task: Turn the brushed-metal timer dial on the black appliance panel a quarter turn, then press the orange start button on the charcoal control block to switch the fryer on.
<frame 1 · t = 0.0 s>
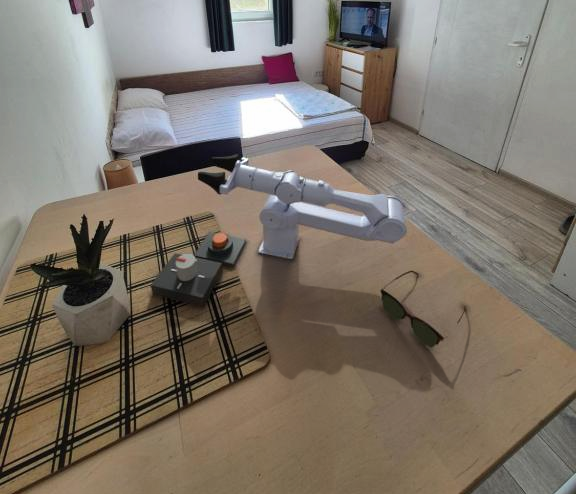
hand: (205, 168, 85), 22 cm above the table, tool horizontal, fingers open, 7 cm apart
button block: (220, 250, 87), on the table
timer dial: (186, 266, 76), point 5 cm above the table, hinge at 0.0°
dial panel: (189, 282, 78), on the table
sunglasses: (423, 308, 72), on the table
start button: (219, 240, 86), point 3 cm above the table, slide at 0.1 cm
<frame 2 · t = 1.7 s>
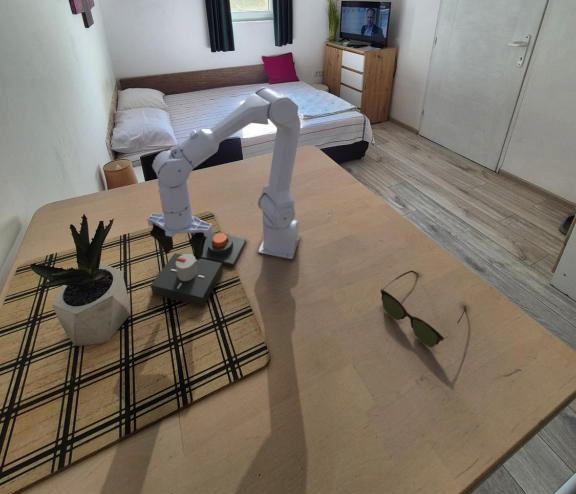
hand: (184, 253, 74), 9 cm above the table, tool pointing down, fingers open, 7 cm apart
nothing on the table moved.
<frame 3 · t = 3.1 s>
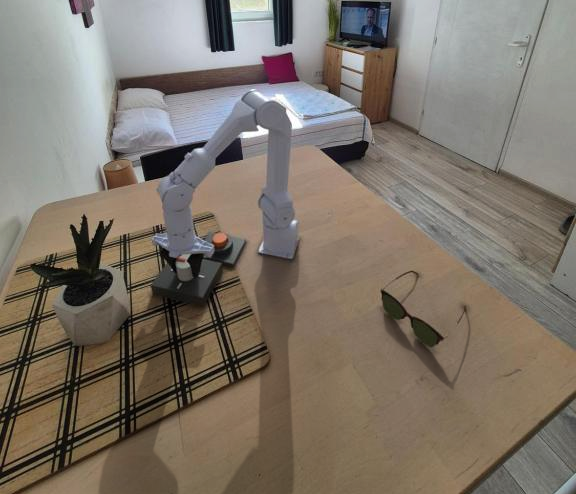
hand: (187, 272, 76), 4 cm above the table, tool pointing down, fingers closed on timer dial, 4 cm apart
timer dial: (186, 266, 76), point 5 cm above the table, hinge at 0.1°, touching gripper
everything else where it was.
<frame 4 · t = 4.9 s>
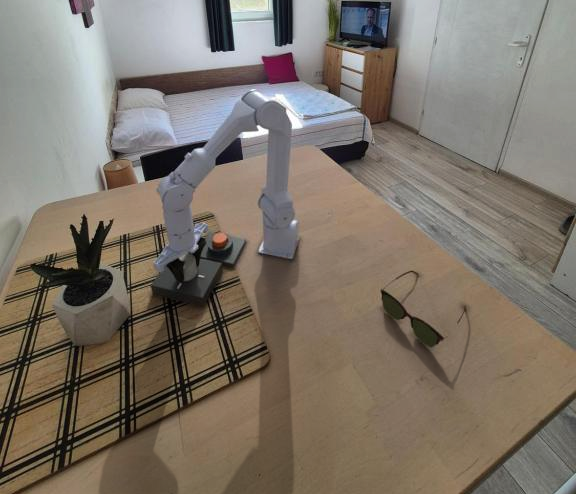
hand: (187, 272, 76), 4 cm above the table, tool pointing down, fingers closed on timer dial, 4 cm apart
timer dial: (186, 266, 76), point 5 cm above the table, hinge at 74.6°, touching gripper
everything else where it was.
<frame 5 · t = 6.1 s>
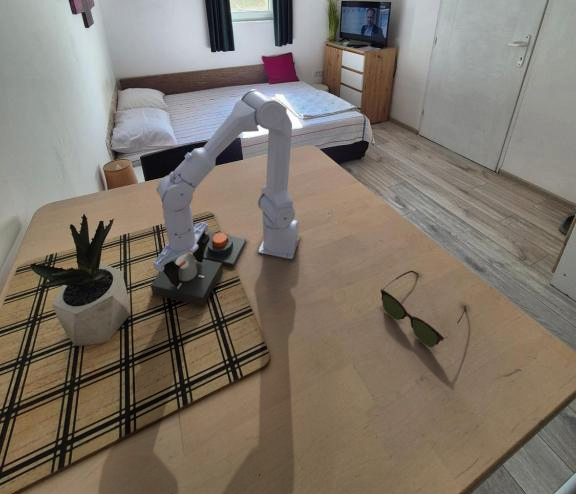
hand: (187, 271, 76), 4 cm above the table, tool pointing down, fingers open, 7 cm apart
timer dial: (186, 266, 76), point 5 cm above the table, hinge at 74.5°
everything else where it was.
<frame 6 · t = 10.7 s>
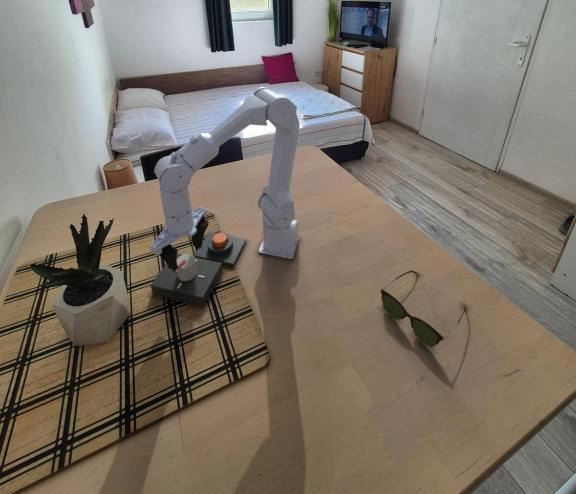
hand: (185, 257, 75), 8 cm above the table, tool pointing down, fingers open, 7 cm apart
nothing on the table moved.
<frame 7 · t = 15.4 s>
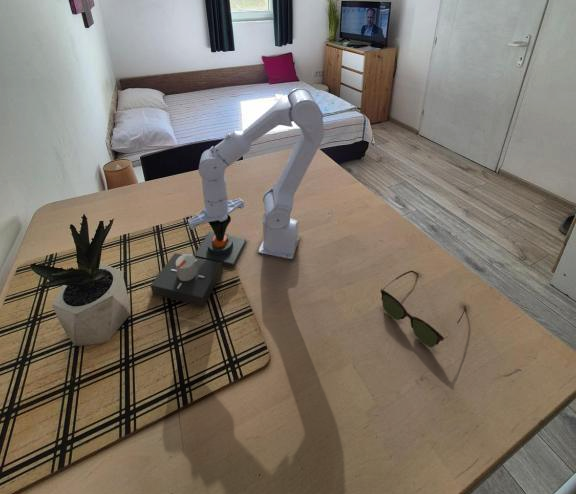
hand: (219, 238, 86), 4 cm above the table, tool pointing down, fingers closed, pressing on start button
start button: (220, 240, 86), point 3 cm above the table, slide at -0.1 cm, touching gripper
everything else where it was.
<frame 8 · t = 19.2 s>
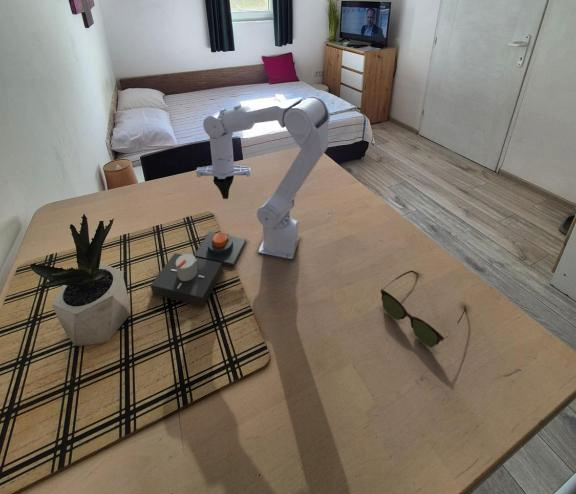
hand: (225, 196, 92), 10 cm above the table, tool pointing down, fingers closed
start button: (219, 240, 86), point 3 cm above the table, slide at 0.1 cm
everything else where it was.
at the end: timer dial at +74° (first picture: +0°); start button pushed in 1.2 cm at the most during the clip, back to where it started at the end; start button slide at 0.1 cm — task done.
